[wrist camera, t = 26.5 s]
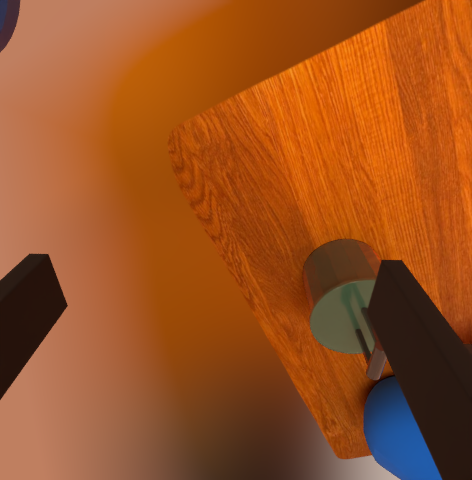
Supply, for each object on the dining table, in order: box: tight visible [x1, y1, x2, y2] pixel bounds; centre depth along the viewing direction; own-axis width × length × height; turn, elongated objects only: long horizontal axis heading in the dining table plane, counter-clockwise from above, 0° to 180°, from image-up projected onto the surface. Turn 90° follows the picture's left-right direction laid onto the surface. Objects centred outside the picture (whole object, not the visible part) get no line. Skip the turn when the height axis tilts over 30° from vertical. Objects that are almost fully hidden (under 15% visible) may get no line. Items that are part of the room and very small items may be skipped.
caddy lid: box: [309, 278, 387, 380], centre depth 39 cm, size 14×14×8 cm
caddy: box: [303, 239, 381, 312], centre depth 47 cm, size 12×12×10 cm
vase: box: [364, 376, 442, 480], centre depth 54 cm, size 18×18×30 cm
